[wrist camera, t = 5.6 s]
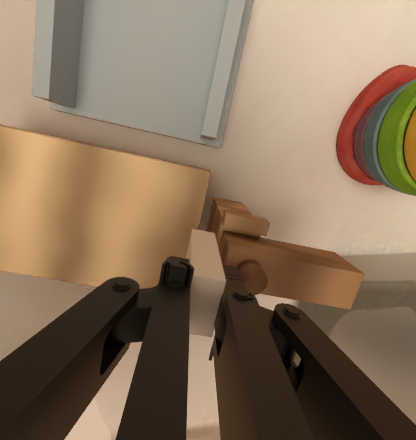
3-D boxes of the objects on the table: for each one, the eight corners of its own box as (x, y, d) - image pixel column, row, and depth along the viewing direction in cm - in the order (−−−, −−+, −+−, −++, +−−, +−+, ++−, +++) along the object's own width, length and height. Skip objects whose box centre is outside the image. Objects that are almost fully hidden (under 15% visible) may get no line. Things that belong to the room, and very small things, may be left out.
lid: (-33, 244, 21) (-70, 258, 18) (-35, 115, 19) (-77, 109, 16) (184, 282, 23) (182, 300, 20) (208, 169, 20) (210, 172, 17)
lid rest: (54, 109, 24) (19, 99, 19) (65, -57, 21) (27, -119, 16) (219, 147, 26) (225, 146, 21) (252, -2, 23) (268, -44, 18)
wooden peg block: (215, 262, 19) (221, 297, 14) (223, 230, 18) (232, 256, 14) (323, 282, 20) (362, 321, 15) (334, 252, 19) (378, 283, 14)
